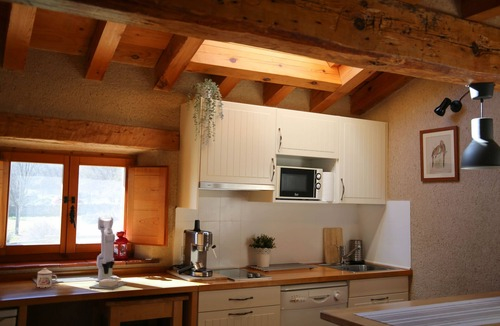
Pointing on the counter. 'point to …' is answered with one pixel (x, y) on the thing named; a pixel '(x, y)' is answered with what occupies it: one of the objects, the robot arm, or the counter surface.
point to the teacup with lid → (45, 278)
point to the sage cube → (108, 273)
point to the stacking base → (108, 284)
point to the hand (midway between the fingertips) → (107, 273)
